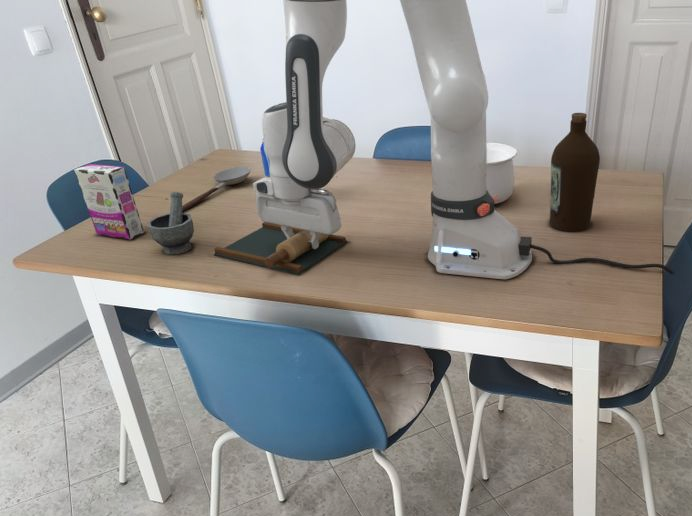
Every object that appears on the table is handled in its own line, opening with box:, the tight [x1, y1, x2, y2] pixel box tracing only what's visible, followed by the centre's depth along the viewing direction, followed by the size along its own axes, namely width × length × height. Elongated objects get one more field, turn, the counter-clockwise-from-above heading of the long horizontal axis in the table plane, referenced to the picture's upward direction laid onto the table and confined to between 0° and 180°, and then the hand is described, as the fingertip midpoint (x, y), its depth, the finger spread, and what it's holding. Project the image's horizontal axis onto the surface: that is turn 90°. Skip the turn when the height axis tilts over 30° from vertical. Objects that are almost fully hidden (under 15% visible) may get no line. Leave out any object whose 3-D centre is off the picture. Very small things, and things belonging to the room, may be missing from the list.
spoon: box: [182, 166, 252, 212], centre depth 174 cm, size 11×33×3 cm, turn 158°
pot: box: [486, 141, 518, 205], centre depth 161 cm, size 22×17×12 cm
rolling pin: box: [265, 230, 329, 269], centre depth 139 cm, size 4×23×4 cm, turn 152°
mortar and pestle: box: [147, 191, 195, 255], centre depth 143 cm, size 11×9×12 cm
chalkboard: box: [213, 222, 348, 276], centre depth 143 cm, size 24×18×2 cm
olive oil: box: [549, 112, 601, 232], centre depth 142 cm, size 11×11×25 cm
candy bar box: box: [73, 163, 145, 241], centre depth 150 cm, size 11×5×16 cm, turn 68°
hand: (303, 245), depth 139 cm, fingers closed on rolling pin, 4 cm apart
